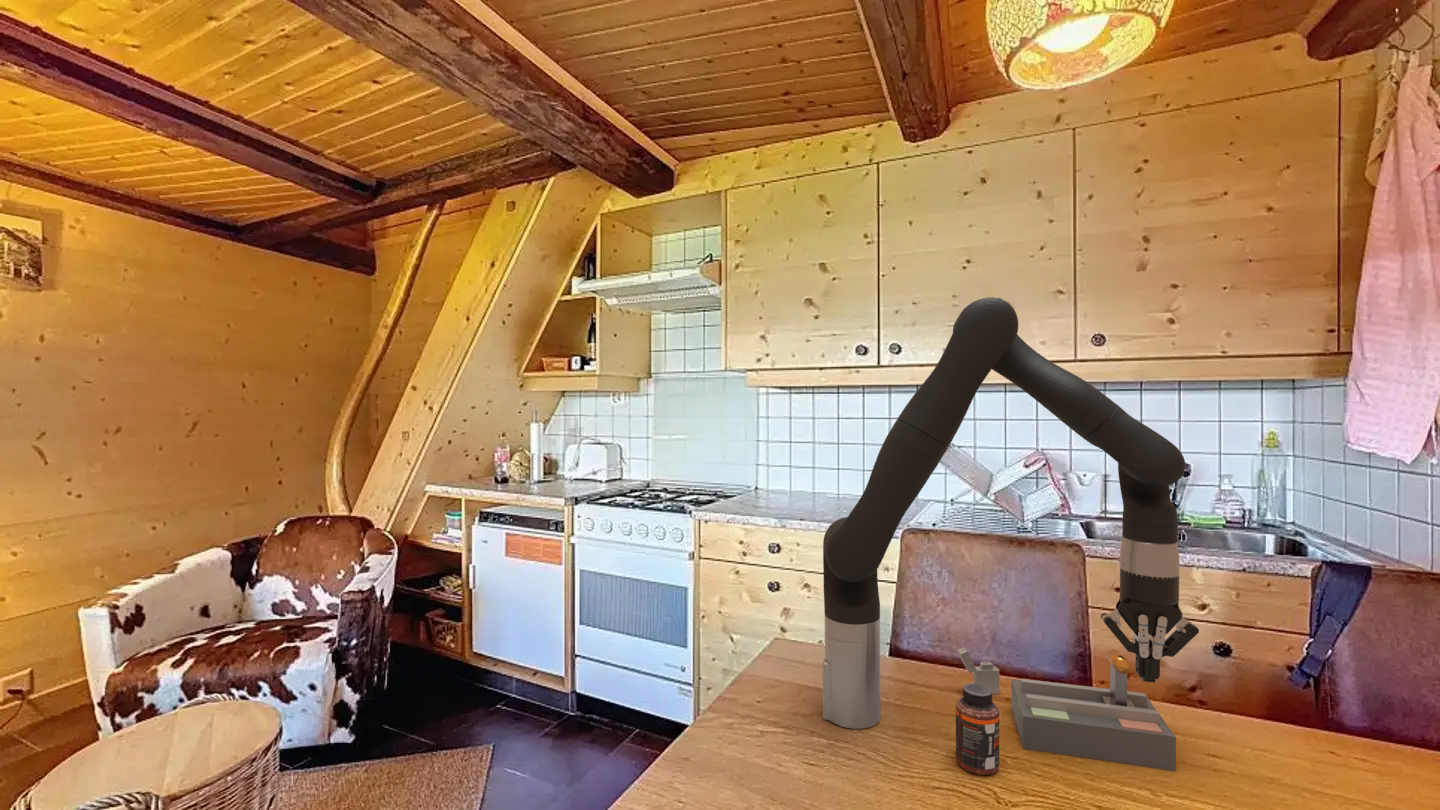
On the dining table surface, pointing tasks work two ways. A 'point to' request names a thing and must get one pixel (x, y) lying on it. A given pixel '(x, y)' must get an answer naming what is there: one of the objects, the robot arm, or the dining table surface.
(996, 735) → the supplement bottle
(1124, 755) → the switch box
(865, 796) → the dining table surface
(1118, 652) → the breaker handle
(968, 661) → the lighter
